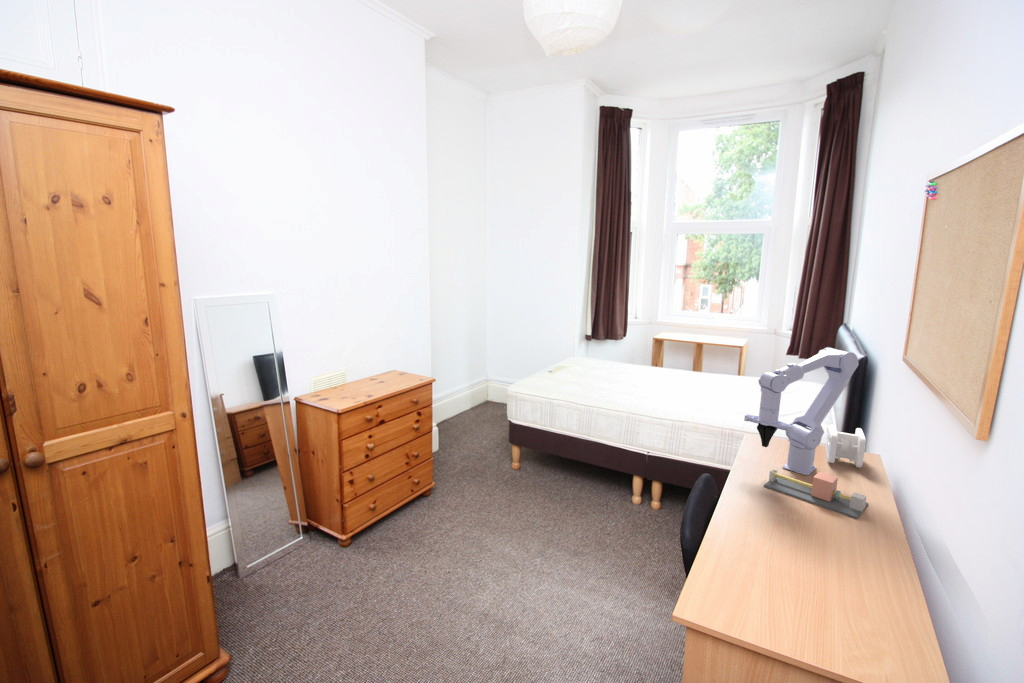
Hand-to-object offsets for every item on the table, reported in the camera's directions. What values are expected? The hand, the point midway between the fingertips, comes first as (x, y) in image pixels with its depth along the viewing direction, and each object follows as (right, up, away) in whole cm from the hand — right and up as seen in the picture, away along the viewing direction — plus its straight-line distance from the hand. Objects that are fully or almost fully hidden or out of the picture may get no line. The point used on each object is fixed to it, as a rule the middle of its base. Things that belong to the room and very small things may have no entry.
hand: (765, 446), depth 158 cm
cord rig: (+7, -12, -14) cm, 20 cm away
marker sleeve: (+9, -13, -16) cm, 22 cm away
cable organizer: (+34, -8, +11) cm, 37 cm away
